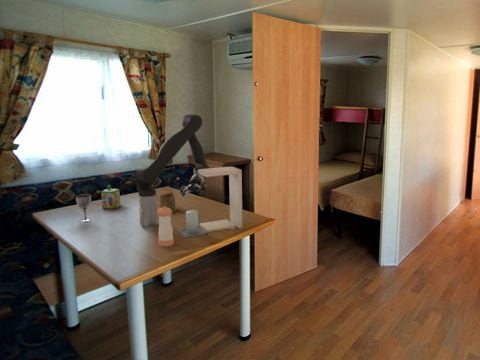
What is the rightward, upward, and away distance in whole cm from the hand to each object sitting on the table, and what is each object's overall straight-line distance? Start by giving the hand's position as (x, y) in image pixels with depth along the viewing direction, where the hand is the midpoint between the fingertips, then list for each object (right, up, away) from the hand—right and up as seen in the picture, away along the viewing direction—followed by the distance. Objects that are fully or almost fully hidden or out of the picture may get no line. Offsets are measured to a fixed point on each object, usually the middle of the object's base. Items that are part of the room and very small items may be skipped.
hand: (190, 193), depth 192 cm
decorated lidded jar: (-59, -11, +45) cm, 75 cm away
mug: (-22, -12, +35) cm, 44 cm away
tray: (+2, -20, -9) cm, 22 cm away
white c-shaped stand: (+15, -18, +1) cm, 24 cm away
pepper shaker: (-8, -24, -23) cm, 34 cm away
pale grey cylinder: (+2, -19, -9) cm, 22 cm away
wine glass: (-64, -17, +16) cm, 68 cm away
